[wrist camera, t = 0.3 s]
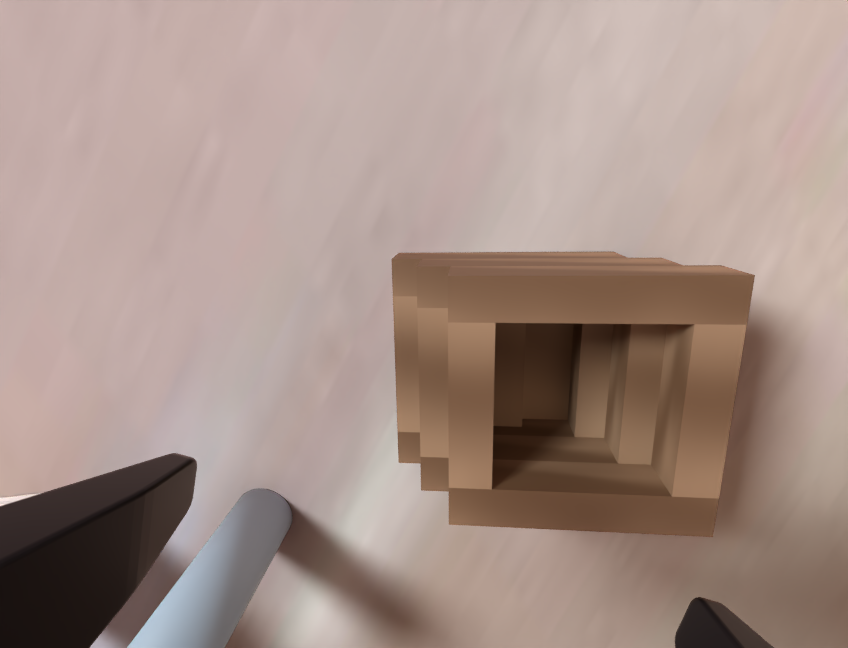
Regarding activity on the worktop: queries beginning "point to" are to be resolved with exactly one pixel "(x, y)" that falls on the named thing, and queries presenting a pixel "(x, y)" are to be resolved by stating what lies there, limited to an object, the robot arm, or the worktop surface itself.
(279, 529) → the gray dowel
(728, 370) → the leaning socket
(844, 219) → the worktop surface
